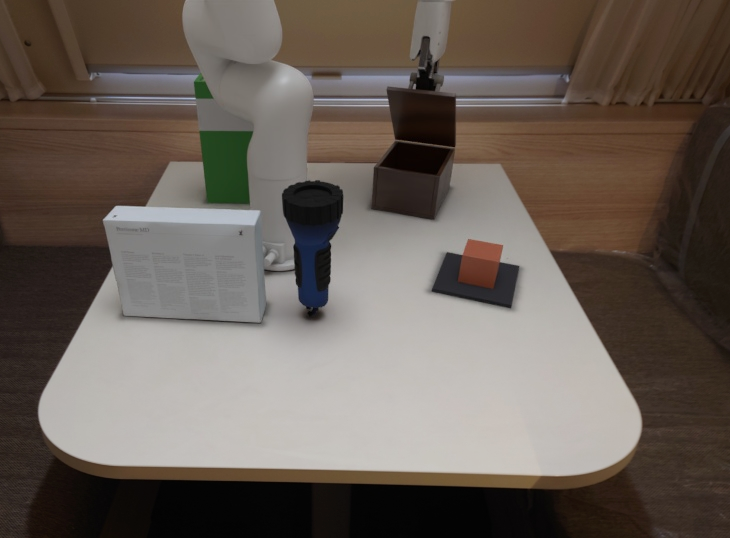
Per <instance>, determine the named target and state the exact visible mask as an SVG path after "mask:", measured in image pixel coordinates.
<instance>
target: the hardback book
mask: <svg viewBox="0 0 730 538" xmlns="http://www.w3.org/2000/svg"><path fill="white" fill-rule="evenodd" d="M193 89H194V96H195V106H196V114H197V124H198V132H199V141H200V148H201V149H200V150H201V159H202V168H203V176H204V184H205V193H206V194H205V195H206V202H207V204H250V196H249V181H248V169H247V151H248V146H249V143H250V140H251V138H252V135H253V131H254V125H253V124H252V123H250V122H248V121H246V120H243V119H241V118H238V117H236V116H233V115H231V114H229V113H227V112H226V111H224V110H223V109H222V108H221V107H220V106H219V105H218V104H217V102H216V101H215V100H214V98H213V96H212V94H211V92H210V90H209V88H208V86H207V84H206V82H205V80H204V78H203V76H202V74H201V72H200V73H199V74H198V76H197V77H195V79H194V81H193Z"/></svg>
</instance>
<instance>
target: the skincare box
mask: <svg viewBox="0 0 730 538" xmlns="http://www.w3.org/2000/svg"><path fill="white" fill-rule="evenodd" d="M102 223H103V226H104V231H105V234H106V235H105V236H106V239H107V244H108V249H109V253H110V260H111V264H112V271H113V274H114V278H115V281H116V285H117V291H118V295H119V300H120V304H121V309H122V311H121V312H122V315H123V316H126V317H147V318H162V319H163V318H164V319H179V320H181V319H182V320H205V321H223V322H242V323H257V324H258V323H262V320H263V317H264V314H265V312H266V307H267V301H266V300H267V299H266V298H267V295H266V280H265V279H266V278H265V269H264V261H263V243H262V226H261V211H260V210H250V209H228V208H197V207H169V206H168V207H167V206H164V207H163V206H139V205H138V206H137V205H135V206H134V205H115V206H114V207H113V208H112V210H110V212H108V214H106V216H105V217H104V218H103V219H102Z"/></svg>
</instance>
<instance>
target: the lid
mask: <svg viewBox="0 0 730 538" xmlns="http://www.w3.org/2000/svg"><path fill="white" fill-rule="evenodd" d="M416 78H417V72H413V71H412V72H410V75H409V84H408V87H406V88H405V87H397V86H386V90H385V91H386V95H387V96H386V97H387V101H388V107H389V112H390V119H391V124H392V130H393V131H392V132H393V136H394V141H403V142H411V143H419V144H426V145H434V146H442V147H449V148H456V147H457V93H455V92H449V91H448V92H447V91H441V88H442V87H443V86H444V82H445V75H444V74H438V75H436V74H433V79H434V86H436V89H435V91H428V90H418V89H416V88H414V86H415V85H416Z"/></svg>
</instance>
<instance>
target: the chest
mask: <svg viewBox="0 0 730 538" xmlns="http://www.w3.org/2000/svg"><path fill="white" fill-rule="evenodd" d="M455 153H456V147H447V146H440V145H432V144H424V143H417V142H409V141H401V140H394V142H393V143H392V144H391V145H390V146H389V148H388V149H387V150H386V151H385V153H384V154H383V155H382V156H381V158H380V159H379V160H378V161H377V163H376V164H375V165H374V167H373V176H372V189H371V191H372V192H371V206H370V207H371V208H370V209H371V210H377V211H382V212H387V213H394V214H400V215H404V216H411V217H418V218H422V219H429V220H435V219H436V217H437V215H438V212H439V211H440V208H441V206H442V204H443V202H444V200H445V198H446V197H447V194H448V192H449V190H450V187H451V180H452V174H453V168H454V160H455Z"/></svg>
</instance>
